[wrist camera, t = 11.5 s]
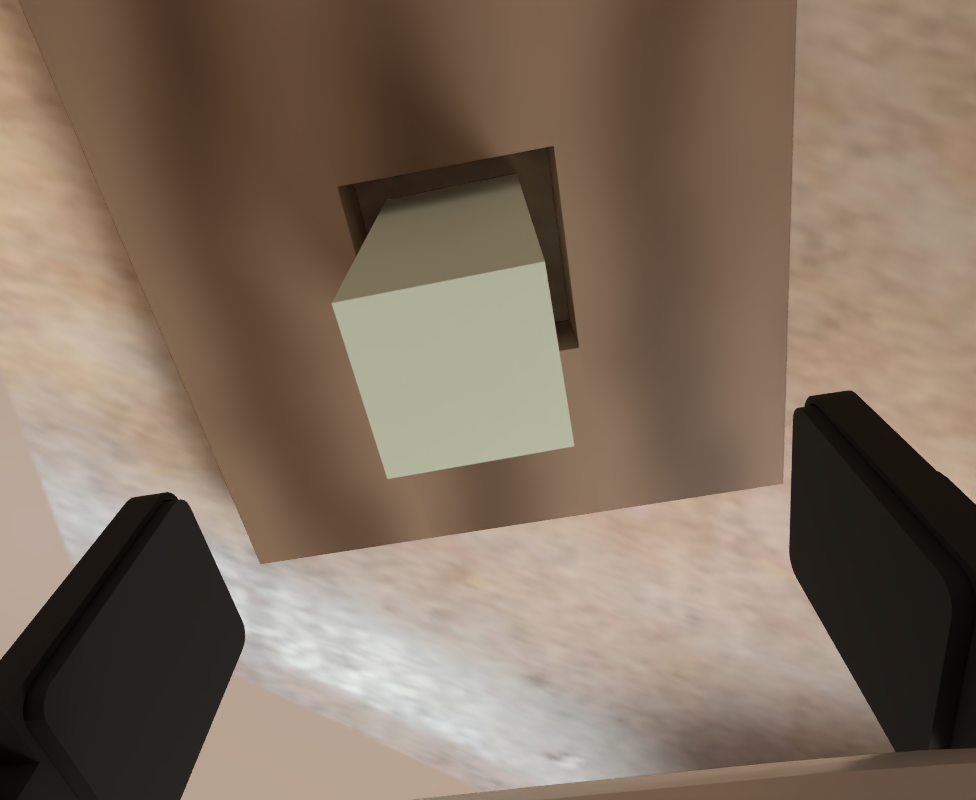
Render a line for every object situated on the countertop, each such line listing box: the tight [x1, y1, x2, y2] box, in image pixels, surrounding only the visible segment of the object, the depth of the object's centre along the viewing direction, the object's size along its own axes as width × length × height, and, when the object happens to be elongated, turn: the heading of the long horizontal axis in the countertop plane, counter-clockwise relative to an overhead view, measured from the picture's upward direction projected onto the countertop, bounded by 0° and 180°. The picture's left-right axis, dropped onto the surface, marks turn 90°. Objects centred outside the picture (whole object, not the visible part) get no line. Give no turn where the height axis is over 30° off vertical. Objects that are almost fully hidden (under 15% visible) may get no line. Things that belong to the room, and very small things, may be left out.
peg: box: [332, 173, 574, 479], centre depth 19 cm, size 4×4×10 cm
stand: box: [19, 0, 797, 564], centre depth 23 cm, size 20×20×2 cm
